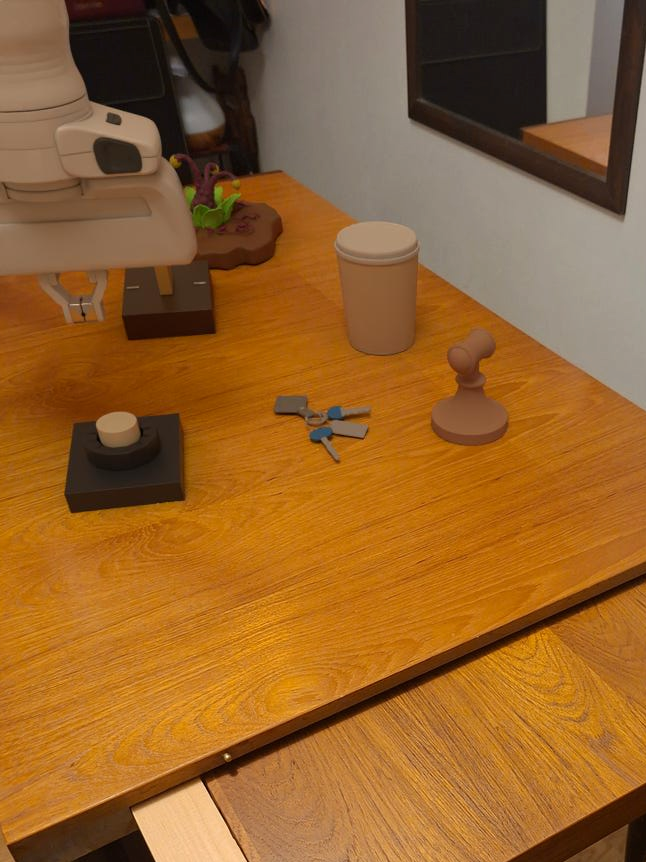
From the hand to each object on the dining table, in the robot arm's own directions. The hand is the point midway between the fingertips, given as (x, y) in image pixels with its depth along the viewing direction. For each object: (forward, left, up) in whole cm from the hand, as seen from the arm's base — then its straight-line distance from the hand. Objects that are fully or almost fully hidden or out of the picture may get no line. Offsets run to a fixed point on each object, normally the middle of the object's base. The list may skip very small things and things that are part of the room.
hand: (87, 320), depth 75 cm
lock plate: (+4, +34, -15) cm, 37 cm away
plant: (+9, +55, -15) cm, 58 cm away
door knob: (+34, +2, -15) cm, 37 cm away
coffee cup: (+28, +22, -15) cm, 39 cm away
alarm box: (0, 0, -15) cm, 15 cm away
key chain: (+20, +5, -15) cm, 26 cm away
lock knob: (+4, +34, -12) cm, 36 cm away
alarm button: (0, 0, -11) cm, 11 cm away
